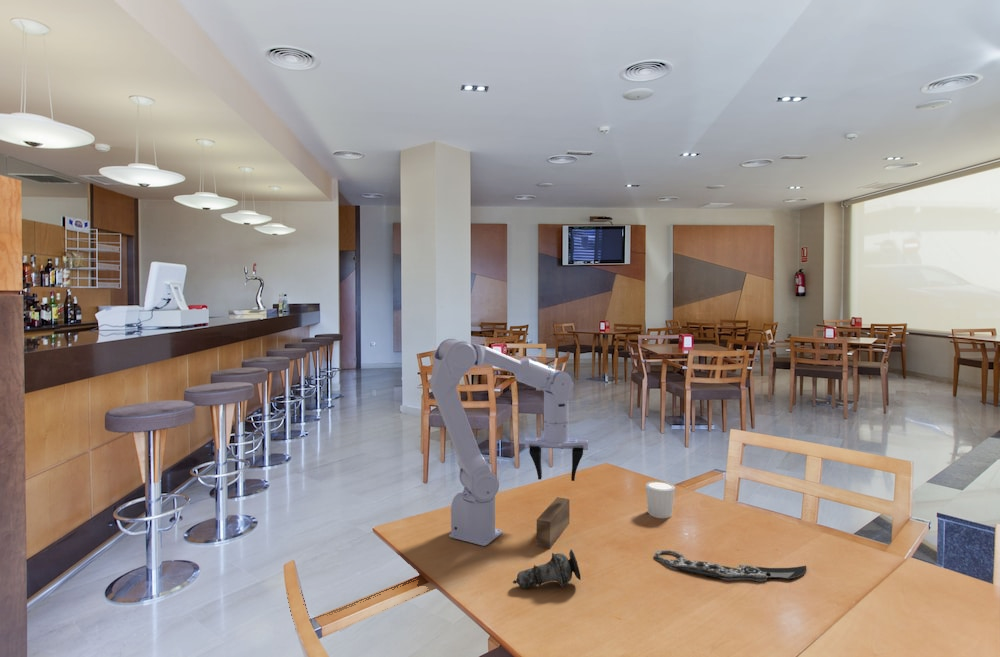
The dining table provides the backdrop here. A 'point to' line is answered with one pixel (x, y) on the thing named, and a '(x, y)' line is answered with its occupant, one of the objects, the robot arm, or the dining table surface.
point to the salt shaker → (550, 571)
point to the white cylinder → (660, 499)
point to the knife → (728, 569)
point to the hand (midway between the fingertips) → (556, 478)
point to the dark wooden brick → (552, 522)
